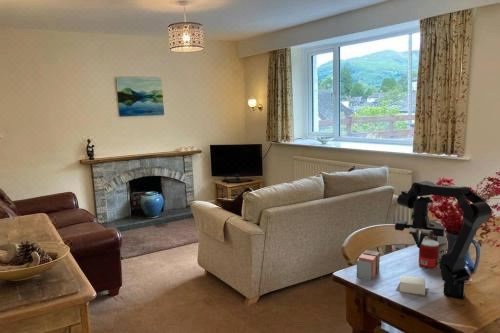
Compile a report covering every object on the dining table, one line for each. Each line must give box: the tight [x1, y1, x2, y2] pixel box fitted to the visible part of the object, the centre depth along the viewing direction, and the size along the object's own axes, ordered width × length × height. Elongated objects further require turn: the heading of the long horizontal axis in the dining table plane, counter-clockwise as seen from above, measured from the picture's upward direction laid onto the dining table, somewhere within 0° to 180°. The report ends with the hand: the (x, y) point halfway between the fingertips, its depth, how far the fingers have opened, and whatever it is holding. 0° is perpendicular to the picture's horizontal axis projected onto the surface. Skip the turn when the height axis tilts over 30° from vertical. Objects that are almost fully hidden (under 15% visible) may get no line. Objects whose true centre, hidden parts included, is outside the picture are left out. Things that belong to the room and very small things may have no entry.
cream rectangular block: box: [399, 275, 426, 295], centre depth 158 cm, size 9×6×4 cm, turn 68°
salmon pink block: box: [358, 253, 376, 280], centre depth 171 cm, size 6×4×9 cm, turn 58°
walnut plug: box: [362, 249, 381, 275], centre depth 175 cm, size 6×4×9 cm, turn 58°
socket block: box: [356, 250, 372, 281], centre depth 174 cm, size 6×11×8 cm, turn 148°
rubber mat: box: [395, 282, 430, 299], centre depth 159 cm, size 11×8×1 cm
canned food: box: [418, 239, 439, 270], centre depth 180 cm, size 8×8×11 cm
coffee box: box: [423, 219, 447, 260], centre depth 191 cm, size 9×6×16 cm
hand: (418, 247), depth 168 cm, fingers closed
